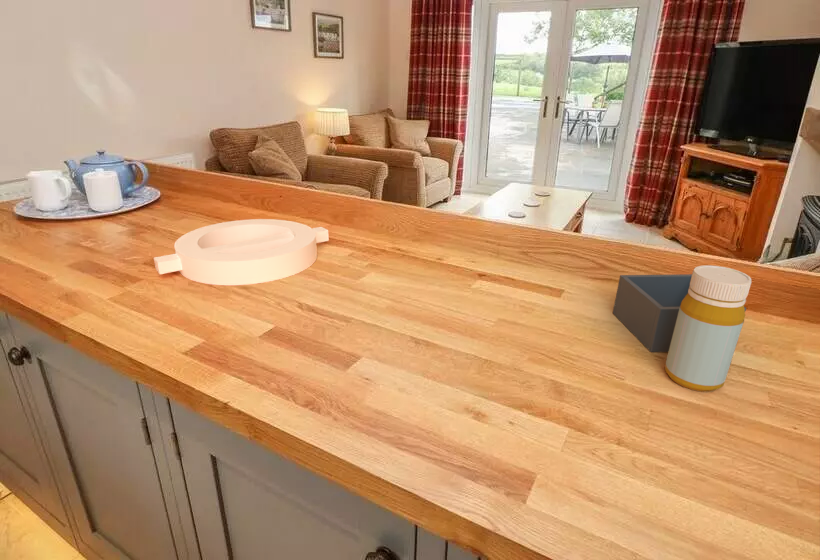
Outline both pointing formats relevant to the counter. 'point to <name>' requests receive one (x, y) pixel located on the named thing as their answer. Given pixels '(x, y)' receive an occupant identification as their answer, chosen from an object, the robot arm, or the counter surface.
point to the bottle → (708, 328)
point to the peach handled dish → (244, 252)
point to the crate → (651, 306)
